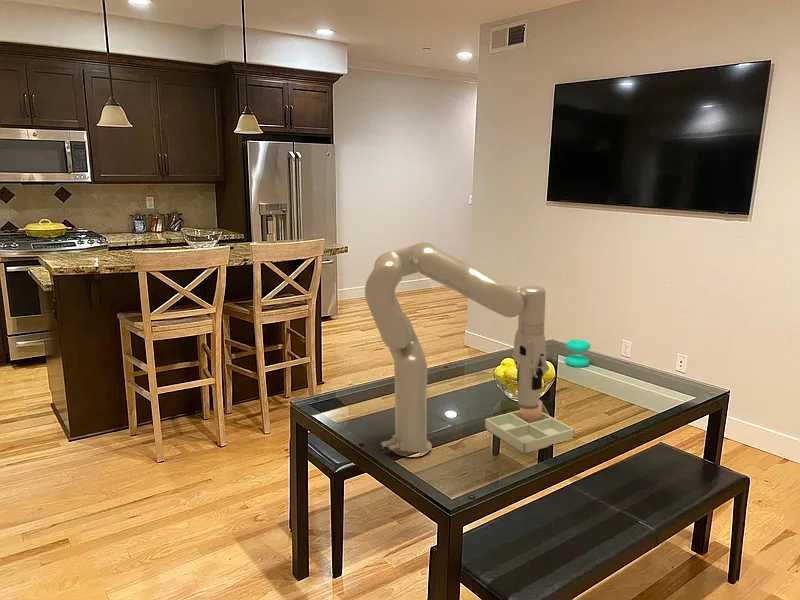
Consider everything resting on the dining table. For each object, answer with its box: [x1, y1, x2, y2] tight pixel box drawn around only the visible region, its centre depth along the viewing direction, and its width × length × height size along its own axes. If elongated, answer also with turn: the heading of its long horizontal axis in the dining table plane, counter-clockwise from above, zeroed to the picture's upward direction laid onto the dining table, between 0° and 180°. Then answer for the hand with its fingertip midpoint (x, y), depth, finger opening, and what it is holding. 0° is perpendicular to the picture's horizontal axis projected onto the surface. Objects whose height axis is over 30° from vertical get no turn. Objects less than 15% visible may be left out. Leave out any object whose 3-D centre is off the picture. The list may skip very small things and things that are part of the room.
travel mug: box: [517, 346, 540, 409], centre depth 177 cm, size 6×7×20 cm
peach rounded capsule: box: [519, 399, 543, 423], centre depth 194 cm, size 7×7×8 cm
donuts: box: [564, 338, 591, 368], centre depth 254 cm, size 10×10×10 cm
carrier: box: [484, 409, 575, 454], centre depth 188 cm, size 20×20×4 cm
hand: (529, 384), depth 178 cm, fingers closed on travel mug, 6 cm apart
